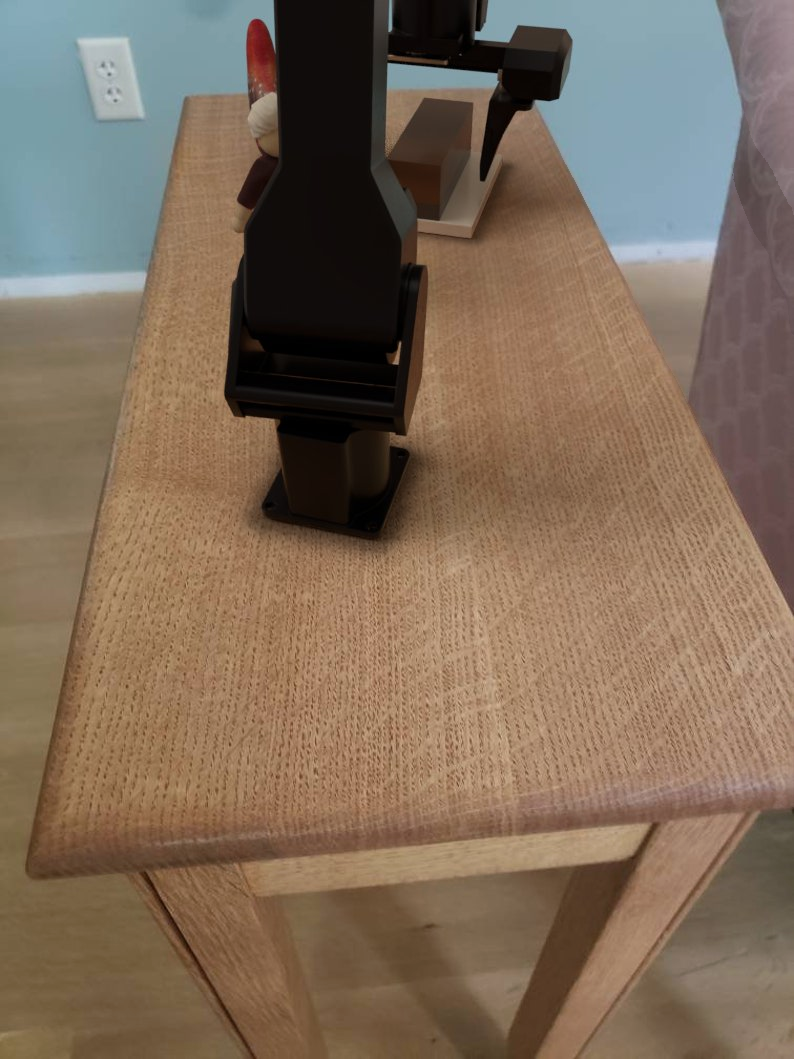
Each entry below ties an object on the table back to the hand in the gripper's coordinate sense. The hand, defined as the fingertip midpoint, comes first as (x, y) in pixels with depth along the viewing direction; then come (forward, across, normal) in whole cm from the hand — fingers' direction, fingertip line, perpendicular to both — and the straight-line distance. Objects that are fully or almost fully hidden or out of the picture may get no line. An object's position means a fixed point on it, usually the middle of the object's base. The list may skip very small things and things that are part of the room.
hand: (430, 173), depth 66 cm
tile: (+2, 0, 0) cm, 2 cm away
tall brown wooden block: (+1, 0, 0) cm, 1 cm away
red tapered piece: (+2, +12, +1) cm, 13 cm away
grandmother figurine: (+2, +6, +14) cm, 16 cm away
